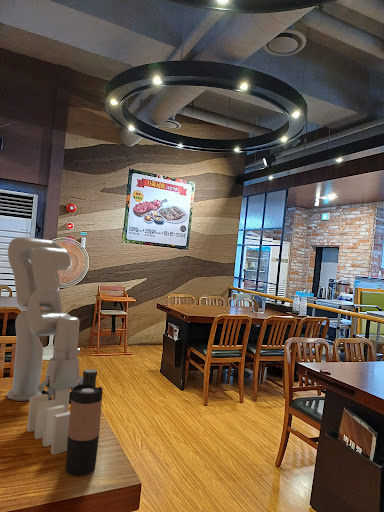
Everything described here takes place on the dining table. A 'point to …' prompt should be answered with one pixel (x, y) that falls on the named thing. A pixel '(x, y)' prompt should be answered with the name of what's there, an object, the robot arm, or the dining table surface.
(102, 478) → the dining table surface
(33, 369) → the robot arm
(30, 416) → the domino
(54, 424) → the domino
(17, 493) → the dining table surface
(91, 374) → the sauce bottle
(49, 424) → the domino
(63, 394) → the domino
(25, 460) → the dining table surface
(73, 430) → the travel mug
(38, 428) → the domino
